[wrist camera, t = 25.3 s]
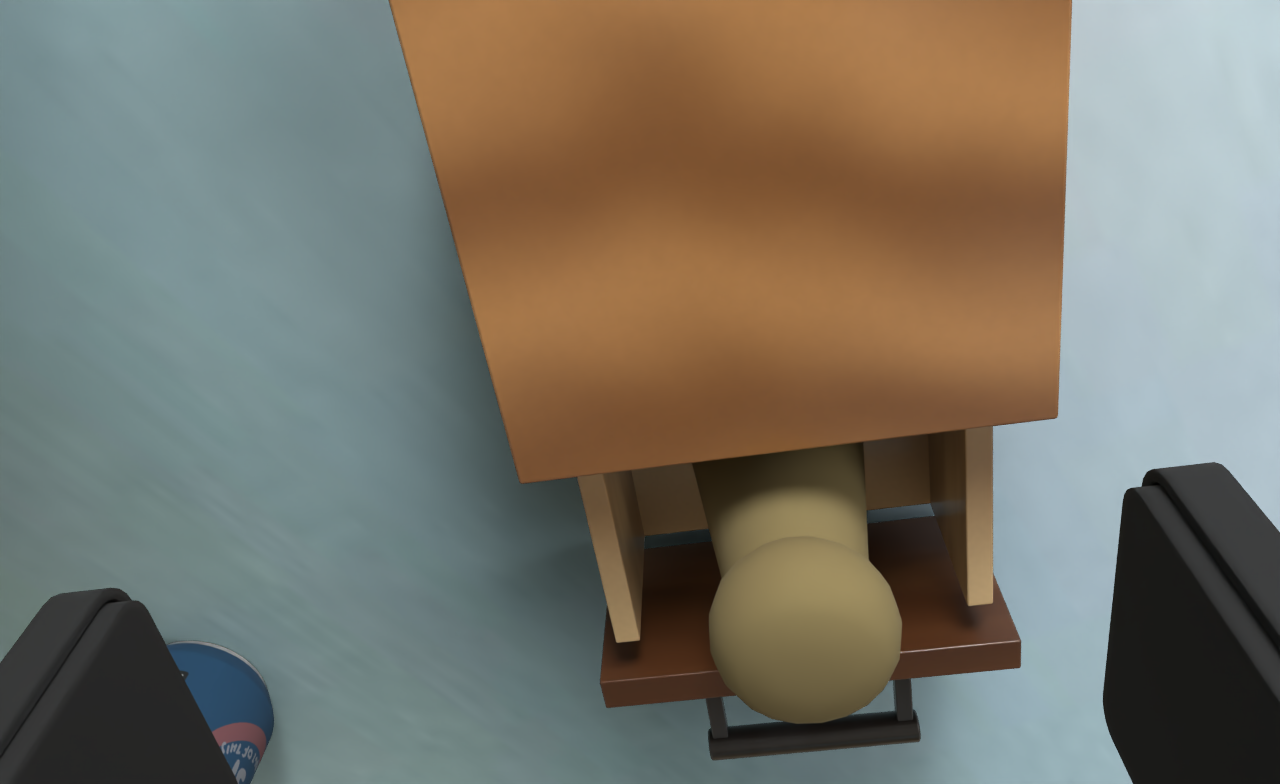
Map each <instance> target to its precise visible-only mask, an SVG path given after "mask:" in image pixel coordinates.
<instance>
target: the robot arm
mask: <svg viewBox="0 0 1280 784" xmlns="http://www.w3.org/2000/svg"><path fill="white" fill-rule="evenodd" d="M1103 707H1104V714H1105V719H1106V723H1107V726H1108V730H1109V733H1110V735H1111V738H1112V740H1113V742H1114V744H1115V746H1116V748H1117V750H1118V753H1119V755H1120V757H1121V759H1122V761H1123V763H1124V765H1125V767H1126V769H1127V772H1128V774H1129V776H1130V778H1131V780H1132V782H1133V784H1280V532H1279V531H1278V530H1277V529H1276V527H1275V526H1274V525H1273V524H1272V522H1271V521H1270V520H1269V519H1268V518H1267V516H1266V515H1265V514H1264V513H1263V512H1262V510H1261V509H1260V508H1259V507H1258V506H1257V504H1256V503H1255V502H1254V501H1253V500H1252V498H1251V497H1250V496H1249V495H1248V493H1247V492H1246V491H1245V490H1244V489H1243V487H1242V486H1241V485H1240V484H1239V483H1238V481H1237V480H1236V479H1235V478H1234V477H1233V475H1232V474H1231V473H1230V472H1229V471H1228V470H1227V469H1226V468H1225V467H1224V466H1223V465H1222V464H1219V463H1215V462H1212V463H1204V464H1195V465H1186V466H1177V467H1168V468H1160V469H1152V470H1150V471H1148V472H1147V473H1146V475H1145V477H1144V478H1143V482H1142V487H1136V488H1130V489H1128V490H1127V491H1126V493H1125V494H1124V499H1123V505H1122V515H1121V525H1120V534H1119V544H1118V554H1117V564H1116V573H1115V583H1114V593H1113V603H1112V612H1111V622H1110V632H1109V642H1108V651H1107V661H1106V671H1105V681H1104V691H1103ZM0 784H238V782H237V780H236V777H235V775H234V773H233V771H232V769H231V768H230V766H229V764H228V762H227V760H226V758H225V756H224V754H223V752H222V750H221V748H220V747H219V745H218V743H217V741H216V739H215V737H214V735H213V733H212V731H211V729H210V728H209V726H208V724H207V722H206V720H205V718H204V716H203V714H202V712H201V710H200V709H199V707H198V705H197V703H196V701H195V699H194V697H193V695H192V693H191V691H190V689H189V688H188V686H187V684H186V682H185V680H184V678H183V676H182V674H181V672H180V670H179V669H178V667H177V665H176V663H175V661H174V659H173V657H172V655H171V653H170V651H169V650H168V648H167V646H166V644H165V642H164V640H163V638H162V636H161V634H160V632H159V631H158V629H157V627H156V625H155V623H154V621H153V619H152V617H151V615H150V613H149V611H148V610H147V609H146V607H145V606H144V604H142V603H141V602H139V601H133V600H131V599H130V597H129V596H128V595H127V593H125V592H123V591H122V590H120V589H117V588H106V589H97V590H88V591H79V592H71V593H62V594H58V595H56V596H53V597H51V598H50V599H49V600H48V601H47V602H46V603H45V604H44V605H43V606H42V608H41V609H40V610H39V612H38V613H37V614H36V616H35V617H34V618H33V620H32V621H31V622H30V624H29V625H28V626H27V628H26V629H25V630H24V632H23V633H22V634H21V636H20V637H19V639H18V640H17V641H16V643H15V644H14V645H13V647H12V648H11V649H10V651H9V652H8V653H7V655H6V656H5V657H4V659H3V660H2V661H1V663H0Z"/></svg>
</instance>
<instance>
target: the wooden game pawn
mask: <svg viewBox="0 0 1280 784" xmlns="http://www.w3.org/2000/svg"><path fill="white" fill-rule="evenodd" d="M692 465H693V469H694V473H695V477H696V481H697V485H698V489H699V493H700V496H701V500H702V504H703V508H704V512H705V516H706V520H707V524H708V527H709V531H710V535H711V539H712V543H713V547H714V551H715V555H716V558H717V562H718V566H719V570H720V574H721V578H722V579H721V581H720V584H719V587H718V589H717V592H716V595H715V598H714V600H713V603H712V606H711V609H710V612H709V638H710V652H711V655H712V657H713V660H714V662H715V665H716V667H717V669H718V671H719V673H720V675H721V677H722V679H723V681H724V683H725V685H726V686H727V687H728V688H729V689H730V690H731V691H732V692H733V693H734V694H736V695H737V696H738V697H739V698H740V699H741V700H742V701H743V702H744V703H745V704H746V705H747V706H749V707H750V708H751V709H752V710H755V711H757V712H759V713H761V714H763V715H765V716H767V717H769V718H771V719H775V720H780V721H785V722H790V723H795V724H804V723H823V722H827V721H831V720H835V719H839V718H843V717H846V716H848V715H850V714H852V713H854V712H856V711H858V710H859V709H861V708H863V707H865V706H867V705H868V704H869V703H870V702H871V701H872V700H873V699H874V698H875V697H876V696H877V695H878V694H879V693H880V692H881V691H883V689H884V688H885V686H886V685H887V683H888V681H889V680H890V678H891V676H892V674H893V672H894V670H895V668H896V666H897V664H898V662H899V660H900V649H901V634H902V620H901V617H900V613H899V610H898V607H897V604H896V601H895V599H894V596H893V593H892V591H891V588H890V586H889V584H888V583H887V581H886V580H885V579H884V577H883V576H882V575H881V573H880V572H879V571H878V570H877V569H876V568H875V567H874V566H873V565H872V564H871V562H870V561H869V555H868V533H867V511H866V489H865V467H864V445H863V442H859V443H851V444H843V445H835V446H827V447H818V448H810V449H802V450H794V451H786V452H778V453H769V454H761V455H753V456H745V457H737V458H729V459H720V460H712V461H704V462H696V463H692Z"/></svg>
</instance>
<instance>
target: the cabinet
mask: <svg viewBox="0 0 1280 784" xmlns="http://www.w3.org/2000/svg"><path fill="white" fill-rule="evenodd" d="M389 4H390V7H391V11H392V15H393V19H394V22H395V26H396V30H397V33H398V37H399V41H400V44H401V48H402V52H403V55H404V59H405V63H406V66H407V70H408V74H409V78H410V81H411V85H412V89H413V92H414V96H415V100H416V103H417V107H418V111H419V114H420V118H421V122H422V125H423V129H424V133H425V137H426V140H427V144H428V148H429V151H430V155H431V159H432V162H433V166H434V170H435V173H436V177H437V181H438V184H439V188H440V192H441V195H442V199H443V203H444V207H445V210H446V214H447V218H448V221H449V225H450V229H451V232H452V236H453V240H454V243H455V247H456V251H457V254H458V258H459V262H460V266H461V269H462V273H463V277H464V280H465V284H466V288H467V291H468V295H469V299H470V302H471V306H472V310H473V313H474V317H475V321H476V324H477V328H478V332H479V336H480V339H481V343H482V347H483V350H484V354H485V358H486V361H487V365H488V369H489V372H490V376H491V380H492V383H493V387H494V391H495V395H496V398H497V402H498V406H499V409H500V413H501V417H502V420H503V424H504V428H505V431H506V435H507V439H508V442H509V446H510V450H511V453H512V457H513V461H514V465H515V468H516V472H517V476H518V479H519V482H520V483H521V484H524V483H532V482H541V481H549V480H557V479H565V478H573V477H581V476H590V475H598V474H606V473H614V472H622V471H630V470H639V469H647V468H655V467H663V466H671V465H679V464H688V463H696V462H704V461H712V460H720V459H729V458H737V457H745V456H753V455H761V454H769V453H778V452H786V451H794V450H802V449H810V448H818V447H827V446H835V445H843V444H851V443H859V442H867V441H876V440H884V439H892V438H900V437H908V436H917V435H925V434H933V433H941V432H949V431H957V430H966V429H974V428H982V427H990V426H998V425H1006V424H1015V423H1023V422H1031V421H1039V420H1047V419H1055V418H1057V416H1058V398H1059V369H1060V340H1061V311H1062V281H1063V252H1064V223H1065V194H1066V164H1067V135H1068V106H1069V77H1070V47H1071V18H1072V0H389Z"/></svg>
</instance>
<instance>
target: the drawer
mask: <svg viewBox="0 0 1280 784" xmlns="http://www.w3.org/2000/svg"><path fill="white" fill-rule="evenodd" d="M863 445H864V467H865V489H866V511H867V510H875V509H884V508H893V507H902V506H910V505H919V504H928V503H931V506H932V509H933V512H934V515H935V516H929V517H920V518H911V519H903V520H894V521H885V522H876V523H867V533H868V555H869V561H870V562H871V564H872V565H873V566H874V567H875V568H876V569H877V570H878V571H879V572H880V573H881V575H882V576H883V577H884V579H885V580H886V581H887V583H888V584H889V586H890V588H891V591H892V593H893V596H894V599H895V601H896V604H897V607H898V610H899V613H900V617H901V620H902V634H901V649H900V660H899V662H898V664H897V666H896V668H895V670H894V672H893V674H892V676H891V678H890V680H893V690H894V706H895V711H888V712H878V713H867V714H856V715H848V716H846V717H843V718H839V719H835V720H831V721H827V722H823V723H804V724H795V723H790V722H785V721H782V722H771V723H760V724H750V725H739V726H728V724H727V718H726V713H725V707H724V701H723V697H725V696H736V694H734V693H733V692H732V691H731V690H730V689H729V688H728V687H727V686H726V685H725V683H724V681H723V679H722V677H721V675H720V673H719V671H718V669H717V667H716V665H715V662H714V660H713V657H712V655H711V652H710V638H709V612H710V609H711V606H712V603H713V600H714V598H715V595H716V592H717V589H718V587H719V584H720V581H721V579H722V578H721V574H720V570H719V566H718V562H717V558H716V555H715V551H714V547H713V543H712V541H709V542H700V543H692V544H683V545H674V546H665V547H656V548H648V549H644V543H645V536H650V535H658V534H667V533H676V532H684V531H693V530H702V529H709V527H708V524H707V520H706V516H705V512H704V508H703V504H702V500H701V496H700V493H699V489H698V485H697V481H696V477H695V473H694V469H693V465H692V463H688V464H679V465H671V466H663V467H655V468H647V469H639V470H630V471H622V472H614V473H606V474H598V475H590V476H581V477H577V480H578V484H579V488H580V492H581V496H582V501H583V505H584V509H585V513H586V517H587V522H588V526H589V530H590V534H591V539H592V543H593V547H594V551H595V555H596V560H597V564H598V568H599V572H600V576H601V581H602V585H603V589H604V593H605V597H606V602H607V609H606V620H605V631H604V643H603V654H602V665H601V676H600V685H601V689H602V693H603V697H604V701H605V705H606V707H607V708H612V707H622V706H633V705H643V704H653V703H664V702H674V701H684V700H695V699H705V698H706V703H707V709H708V714H709V719H710V725H711V728H710V729H709V730H708V742H709V751H710V756H711V759H712V760H725V759H736V758H747V757H758V756H769V755H781V754H792V753H803V752H814V751H825V750H836V749H847V748H858V747H869V746H880V745H891V744H902V743H913V742H919V741H920V739H921V734H920V726H919V720H918V716H917V713H916V711H915V710H914V709H913V707H912V688H911V678H921V677H932V676H942V675H952V674H962V673H973V672H983V671H993V670H1004V669H1014V668H1020V667H1021V640H1020V637H1019V635H1018V632H1017V630H1016V627H1015V625H1014V622H1013V620H1012V618H1011V615H1010V613H1009V610H1008V608H1007V605H1006V603H1005V601H1004V598H1003V596H1002V593H1001V591H1000V588H999V586H998V584H997V581H996V579H995V576H994V574H993V426H990V427H982V428H974V429H966V430H957V431H949V432H941V433H933V434H925V435H917V436H908V437H900V438H892V439H884V440H876V441H867V442H863ZM890 680H889V681H890Z"/></svg>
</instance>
